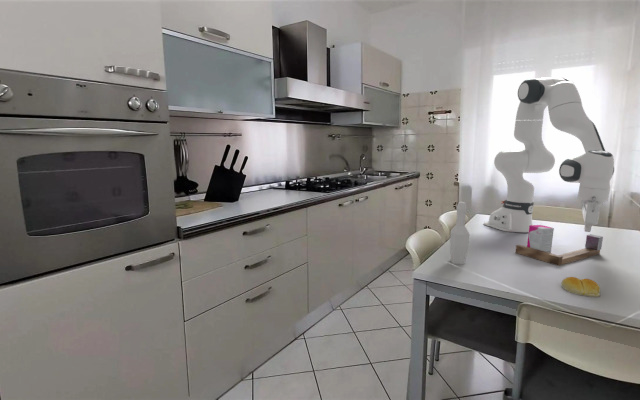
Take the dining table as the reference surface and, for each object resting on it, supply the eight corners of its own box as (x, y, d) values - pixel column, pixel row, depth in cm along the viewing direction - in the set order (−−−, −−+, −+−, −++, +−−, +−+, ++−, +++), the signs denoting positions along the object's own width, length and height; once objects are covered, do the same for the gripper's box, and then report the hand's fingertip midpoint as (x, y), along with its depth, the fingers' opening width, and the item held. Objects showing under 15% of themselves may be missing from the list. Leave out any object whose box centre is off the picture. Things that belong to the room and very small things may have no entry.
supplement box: (550, 257, 127) (554, 227, 125) (538, 258, 125) (541, 228, 123) (537, 252, 132) (541, 224, 130) (525, 253, 131) (528, 225, 129)
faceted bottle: (445, 259, 124) (449, 200, 120) (463, 259, 124) (467, 200, 120) (451, 265, 118) (456, 203, 114) (470, 266, 117) (475, 204, 114)
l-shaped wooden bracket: (515, 252, 131) (517, 235, 130) (556, 243, 144) (558, 227, 142) (559, 266, 117) (562, 246, 116) (601, 254, 130) (603, 236, 128)
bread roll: (560, 283, 104) (561, 271, 103) (597, 290, 99) (599, 277, 98) (561, 293, 97) (563, 280, 96) (601, 301, 92) (603, 287, 92)
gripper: (607, 200, 114) (600, 239, 117) (601, 191, 131) (595, 226, 133) (583, 198, 118) (577, 236, 121) (581, 190, 134) (575, 223, 137)
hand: (587, 231), depth 127 cm, fingers closed
